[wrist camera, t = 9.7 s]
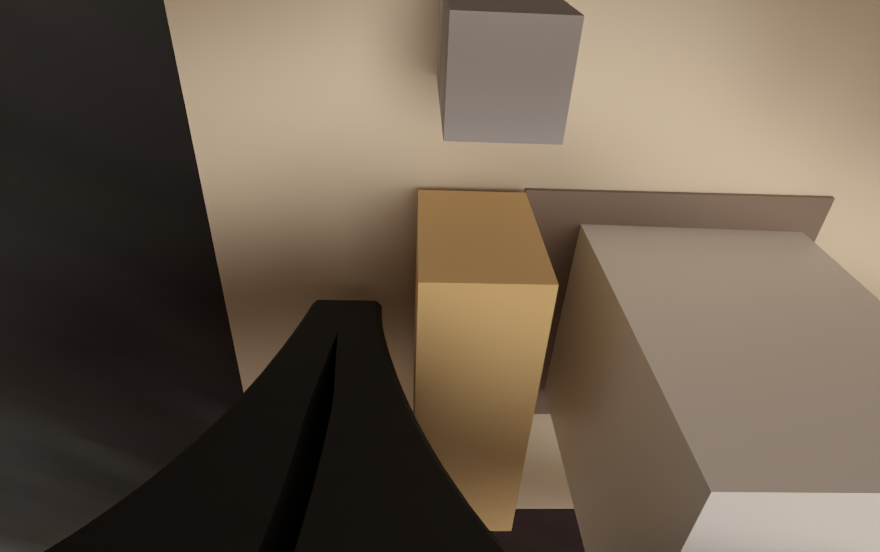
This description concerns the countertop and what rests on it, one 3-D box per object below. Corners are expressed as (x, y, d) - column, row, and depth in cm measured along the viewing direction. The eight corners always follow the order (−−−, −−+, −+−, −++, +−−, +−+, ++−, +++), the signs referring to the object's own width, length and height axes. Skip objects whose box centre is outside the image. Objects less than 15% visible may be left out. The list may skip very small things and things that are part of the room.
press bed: (800, 478, 18) (888, 614, 14) (274, 479, 17) (239, 623, 14) (1118, -34, 10) (1466, 6, 7) (172, -80, 9) (33, -62, 6)
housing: (727, 393, 14) (947, 752, 8) (544, 390, 14) (637, 758, 8) (803, 231, 11) (1196, 583, 6) (580, 224, 11) (756, 584, 5)
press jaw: (494, 416, 14) (510, 530, 12) (412, 416, 14) (410, 531, 11) (526, 192, 11) (558, 285, 8) (418, 189, 11) (418, 282, 8)
